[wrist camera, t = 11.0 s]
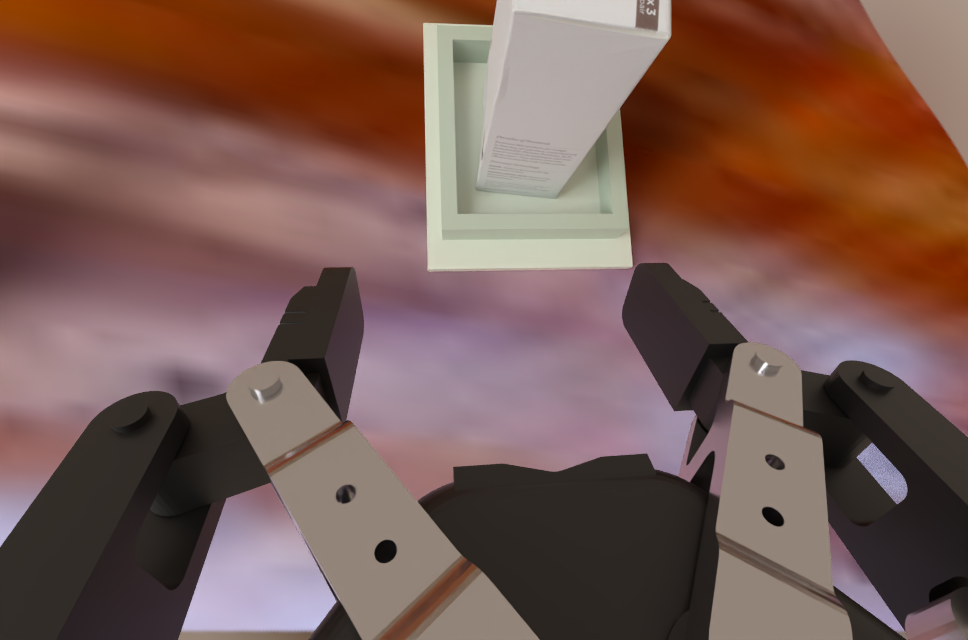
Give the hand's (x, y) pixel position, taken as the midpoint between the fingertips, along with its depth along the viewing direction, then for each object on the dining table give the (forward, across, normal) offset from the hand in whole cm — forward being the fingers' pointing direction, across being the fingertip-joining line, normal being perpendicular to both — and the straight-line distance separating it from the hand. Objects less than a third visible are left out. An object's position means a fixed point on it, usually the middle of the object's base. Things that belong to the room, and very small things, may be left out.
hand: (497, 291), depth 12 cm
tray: (+20, -5, +2) cm, 21 cm away
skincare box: (+20, -4, +1) cm, 20 cm away
